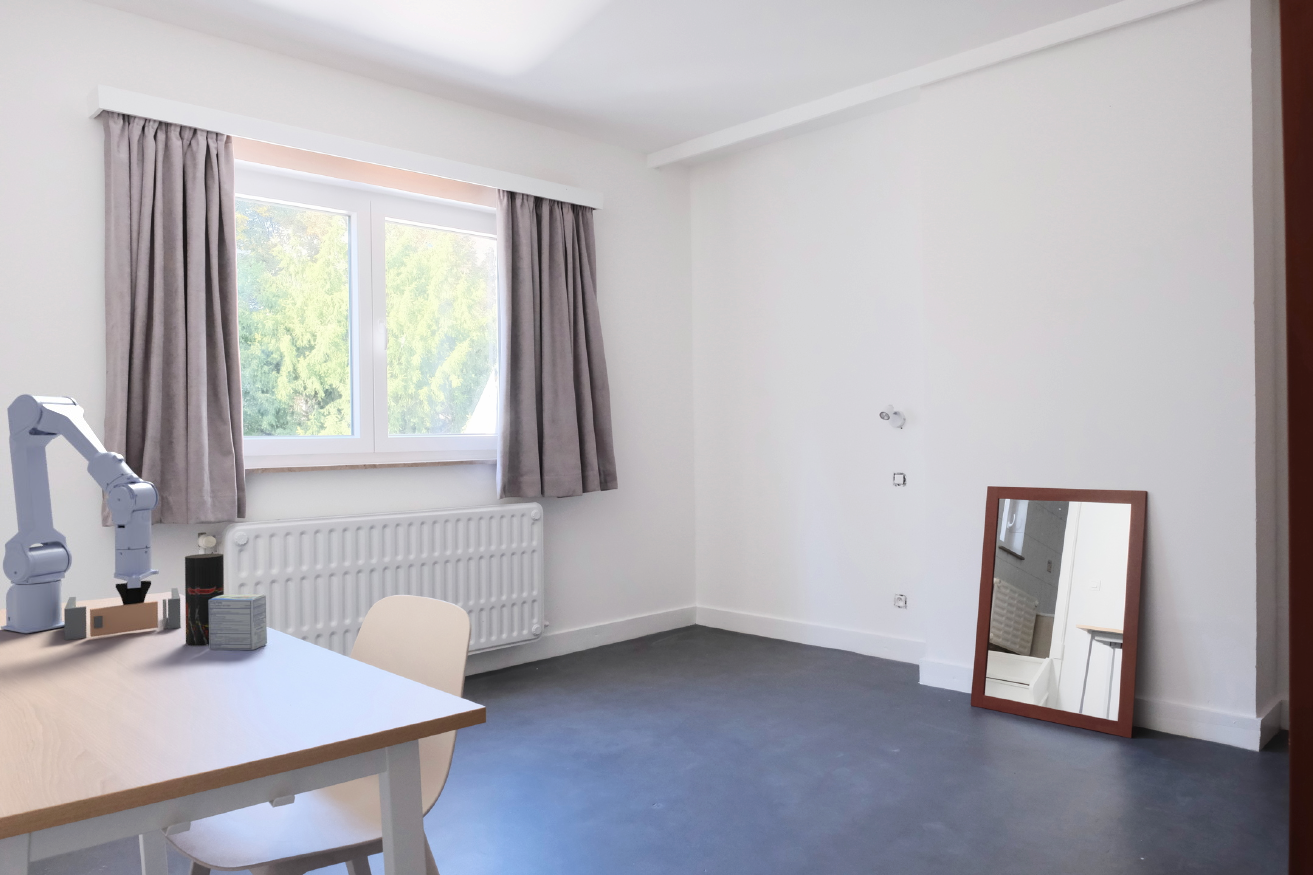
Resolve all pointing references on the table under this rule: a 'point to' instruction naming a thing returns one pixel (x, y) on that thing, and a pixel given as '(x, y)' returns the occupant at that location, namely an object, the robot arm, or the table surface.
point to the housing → (77, 616)
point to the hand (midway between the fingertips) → (133, 621)
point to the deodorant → (201, 594)
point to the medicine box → (237, 622)
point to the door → (123, 618)
